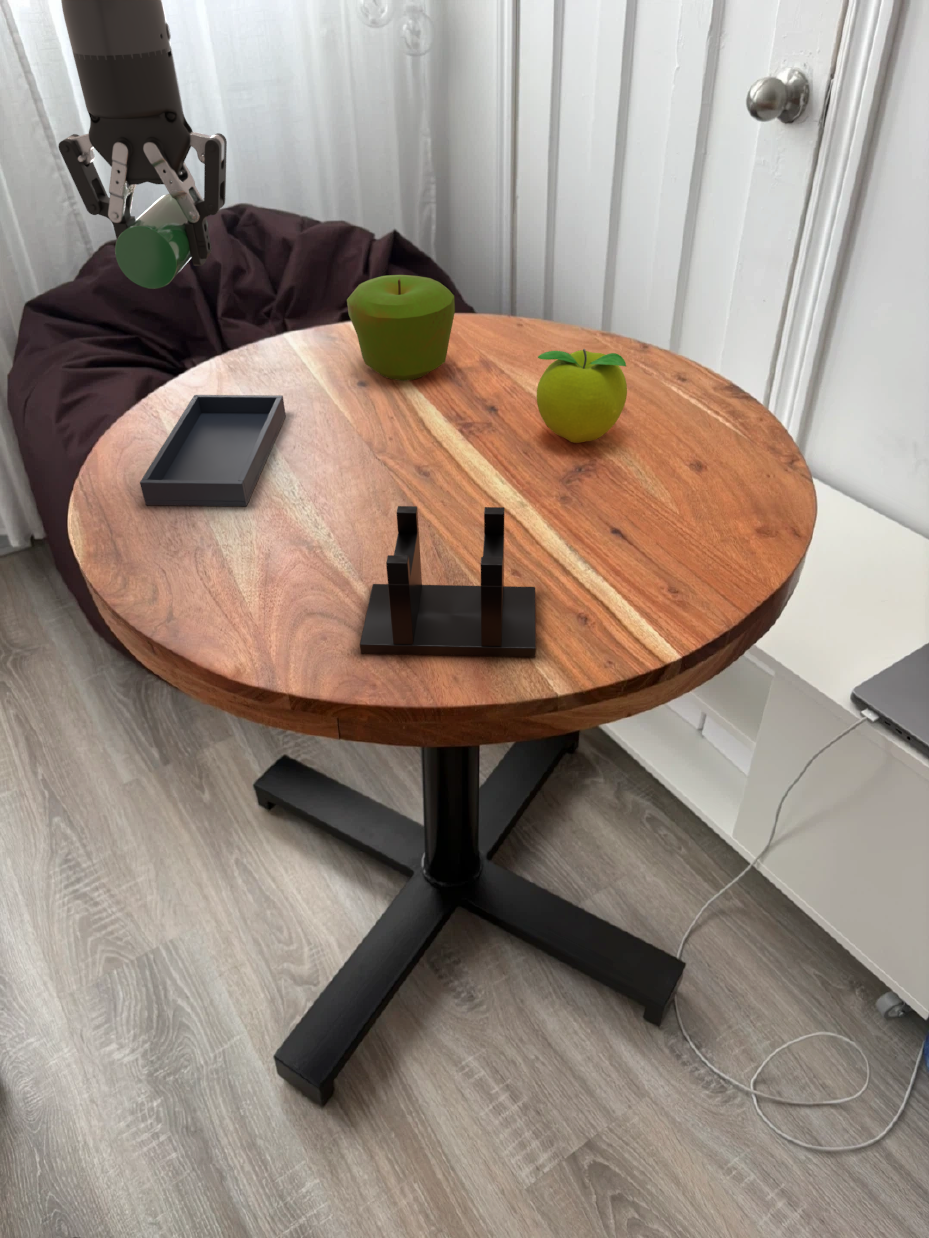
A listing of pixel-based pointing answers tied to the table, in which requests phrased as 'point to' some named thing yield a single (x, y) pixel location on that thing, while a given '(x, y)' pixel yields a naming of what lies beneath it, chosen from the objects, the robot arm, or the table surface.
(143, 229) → the green bottle
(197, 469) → the tray
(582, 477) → the table surface
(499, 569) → the rack
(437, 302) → the apple
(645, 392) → the table surface
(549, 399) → the fruit
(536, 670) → the table surface
